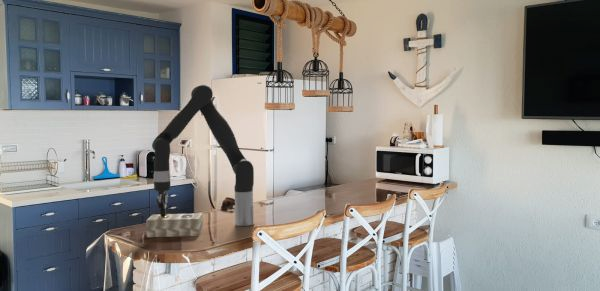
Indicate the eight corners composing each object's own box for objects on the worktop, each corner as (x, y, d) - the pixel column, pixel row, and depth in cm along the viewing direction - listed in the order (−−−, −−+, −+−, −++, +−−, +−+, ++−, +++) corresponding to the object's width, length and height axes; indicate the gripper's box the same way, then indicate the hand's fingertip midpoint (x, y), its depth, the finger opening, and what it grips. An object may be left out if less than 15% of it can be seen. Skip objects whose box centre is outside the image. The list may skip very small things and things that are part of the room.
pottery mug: (217, 210, 283) (221, 197, 286) (231, 215, 286) (235, 202, 289) (224, 208, 273) (229, 194, 276) (239, 214, 276) (243, 200, 279)
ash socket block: (202, 229, 235) (202, 213, 234) (199, 235, 223) (198, 218, 222) (153, 230, 234) (152, 214, 233) (146, 237, 222) (146, 220, 221)
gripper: (167, 182, 220) (168, 219, 221) (173, 178, 233) (174, 213, 234) (150, 182, 219) (151, 219, 221) (157, 178, 232) (158, 213, 234)
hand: (163, 216), depth 227 cm, fingers closed
